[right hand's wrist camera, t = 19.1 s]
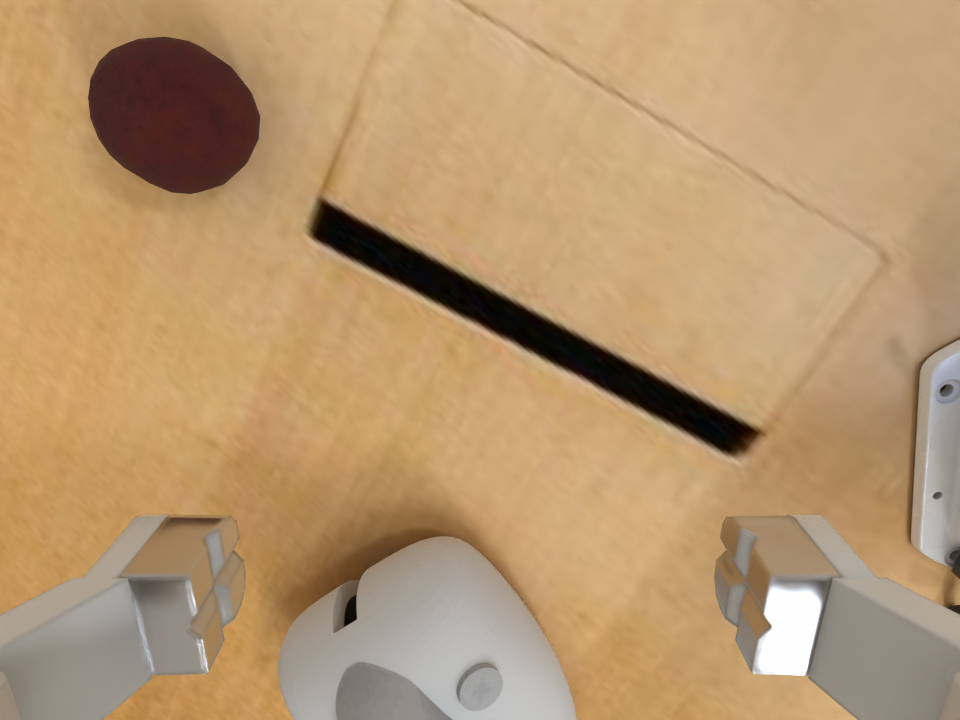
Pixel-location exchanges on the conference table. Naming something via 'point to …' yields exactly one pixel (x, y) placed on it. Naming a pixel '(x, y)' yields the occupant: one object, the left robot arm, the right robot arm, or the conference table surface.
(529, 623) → the white rounded slotted device
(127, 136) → the potato
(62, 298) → the conference table surface
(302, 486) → the conference table surface
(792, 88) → the conference table surface
